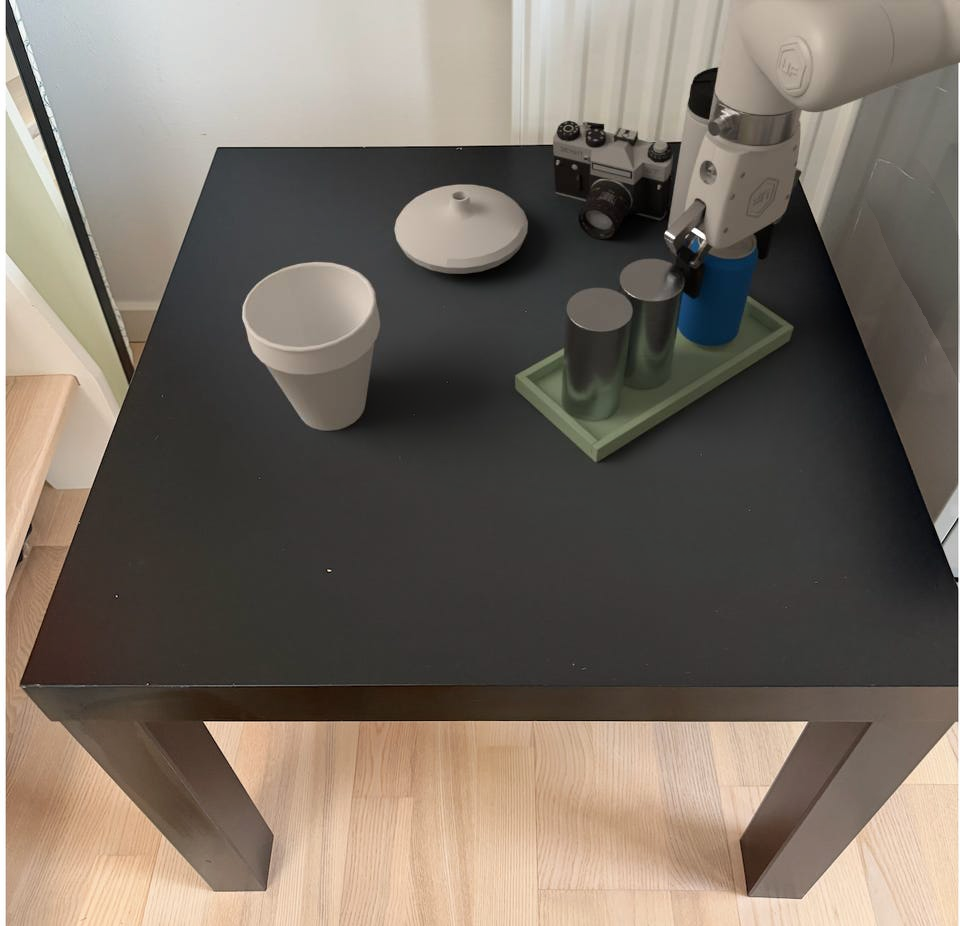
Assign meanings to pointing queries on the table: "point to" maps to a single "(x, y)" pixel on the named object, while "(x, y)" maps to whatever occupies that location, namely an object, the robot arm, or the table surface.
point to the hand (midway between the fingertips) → (719, 271)
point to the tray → (647, 408)
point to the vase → (461, 229)
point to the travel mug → (692, 139)
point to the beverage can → (719, 294)
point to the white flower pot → (316, 338)
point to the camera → (611, 175)
